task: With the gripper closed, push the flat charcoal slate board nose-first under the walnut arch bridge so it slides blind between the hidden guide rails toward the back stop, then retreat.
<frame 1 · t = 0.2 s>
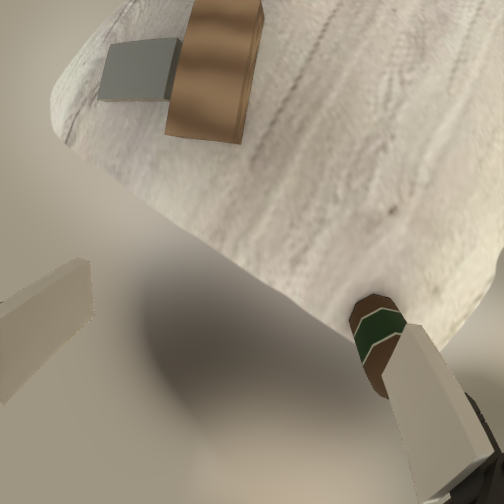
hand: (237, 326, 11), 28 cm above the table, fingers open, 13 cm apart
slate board: (144, 73, 33), on the table
beer bottle: (372, 314, 40), on the table
walnut arch bridge: (222, 73, 32), on the table
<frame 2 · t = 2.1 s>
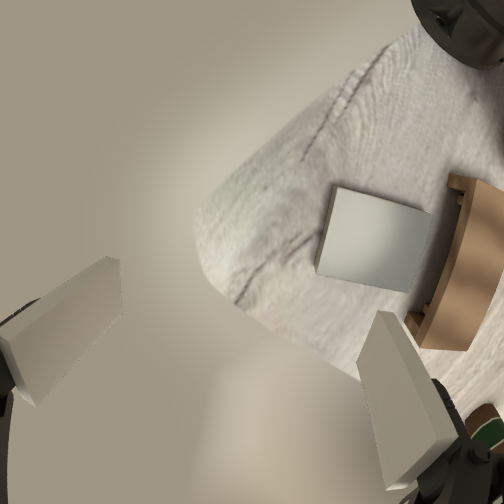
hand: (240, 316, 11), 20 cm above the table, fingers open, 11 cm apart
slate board: (370, 236, 30), on the table
beer bottle: (478, 414, 37), on the table
walnut arch bridge: (454, 258, 29), on the table
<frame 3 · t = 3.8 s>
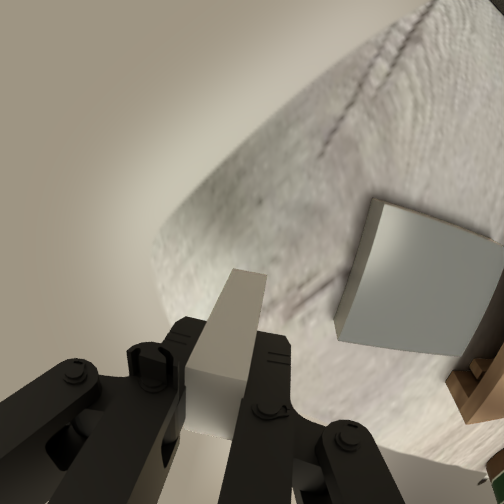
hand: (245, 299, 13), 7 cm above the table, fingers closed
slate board: (418, 277, 18), on the table
beer bottle: (501, 454, 25), on the table
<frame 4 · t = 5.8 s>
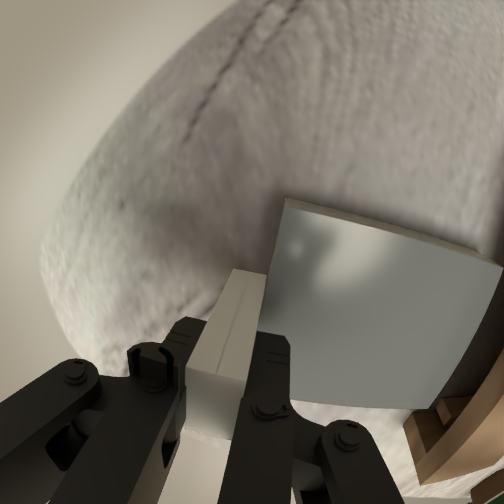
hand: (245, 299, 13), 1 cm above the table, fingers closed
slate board: (367, 306, 14), on the table
beer bottle: (487, 480, 21), on the table
walnut arch bridge: (502, 324, 13), on the table
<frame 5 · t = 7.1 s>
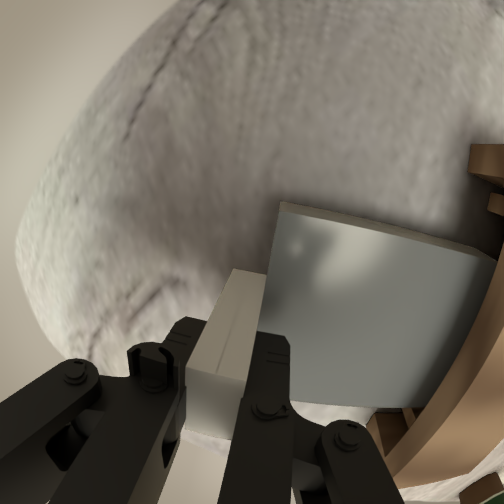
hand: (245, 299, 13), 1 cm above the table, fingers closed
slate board: (366, 306, 14), on the table
beer bottle: (477, 484, 21), on the table
walnut arch bridge: (473, 321, 13), on the table
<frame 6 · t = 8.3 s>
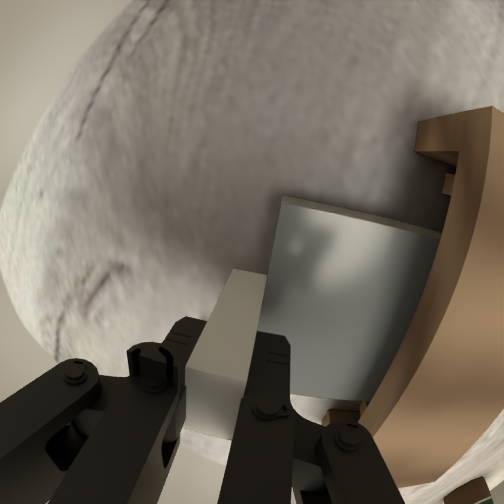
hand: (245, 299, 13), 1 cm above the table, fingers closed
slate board: (367, 300, 14), on the table
beer bottle: (463, 488, 21), on the table
walnut arch bridge: (433, 315, 13), on the table
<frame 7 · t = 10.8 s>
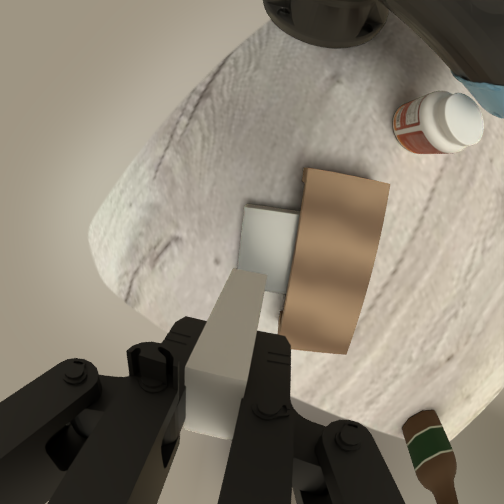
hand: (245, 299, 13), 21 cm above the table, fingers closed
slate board: (289, 248, 34), on the table
pill bottle: (413, 128, 27), on the table
beer bottle: (419, 421, 40), on the table
walnut arch bridge: (324, 255, 33), on the table
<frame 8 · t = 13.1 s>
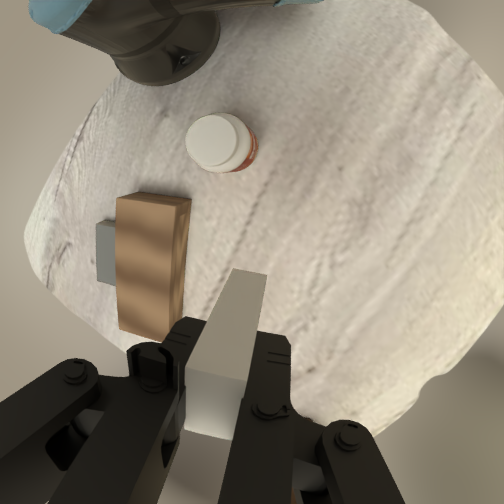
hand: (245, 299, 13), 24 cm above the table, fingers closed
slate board: (135, 254, 41), on the table
pill bottle: (234, 147, 34), on the table
walnut arch bridge: (159, 261, 40), on the table
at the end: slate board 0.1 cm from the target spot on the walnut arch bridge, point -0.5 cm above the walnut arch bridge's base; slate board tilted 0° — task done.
